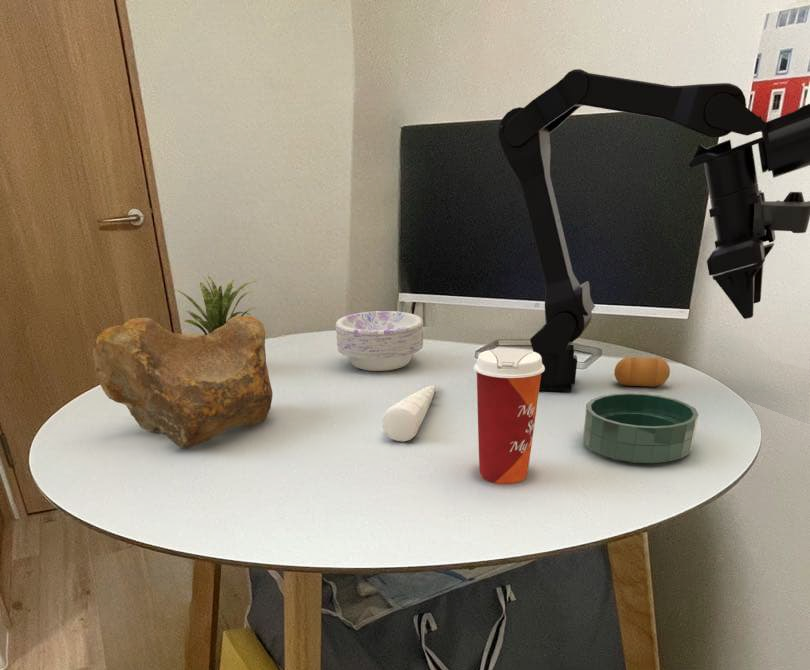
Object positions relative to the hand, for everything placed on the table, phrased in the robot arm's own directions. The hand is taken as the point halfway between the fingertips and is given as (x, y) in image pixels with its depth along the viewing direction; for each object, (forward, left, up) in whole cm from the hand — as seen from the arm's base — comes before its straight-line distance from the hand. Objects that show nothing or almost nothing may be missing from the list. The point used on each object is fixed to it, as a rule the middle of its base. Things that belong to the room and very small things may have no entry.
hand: (752, 310), depth 97 cm
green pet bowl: (-16, -20, -13) cm, 28 cm away
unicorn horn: (-46, -12, -14) cm, 49 cm away
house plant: (-82, +6, -14) cm, 83 cm away
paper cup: (-32, -31, -14) cm, 46 cm away
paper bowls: (-57, +14, -14) cm, 60 cm away
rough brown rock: (-74, -23, -14) cm, 78 cm away
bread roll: (-13, +7, -13) cm, 20 cm away
